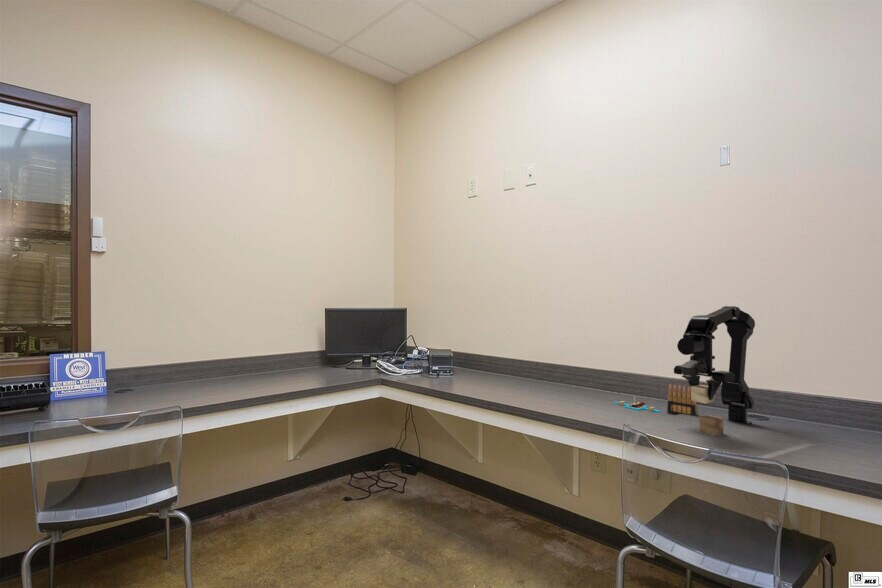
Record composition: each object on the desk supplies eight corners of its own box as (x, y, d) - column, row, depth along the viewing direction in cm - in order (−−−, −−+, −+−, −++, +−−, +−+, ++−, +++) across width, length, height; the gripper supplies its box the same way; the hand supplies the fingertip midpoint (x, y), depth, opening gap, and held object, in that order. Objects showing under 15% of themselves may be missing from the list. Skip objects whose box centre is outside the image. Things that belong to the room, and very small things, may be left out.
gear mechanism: (622, 402, 202) (609, 405, 196) (622, 390, 202) (609, 393, 196) (666, 411, 186) (654, 415, 180) (666, 398, 186) (654, 401, 180)
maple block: (700, 398, 159) (700, 384, 159) (714, 402, 154) (714, 387, 154) (691, 400, 157) (691, 386, 157) (704, 403, 152) (704, 388, 152)
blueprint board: (704, 426, 164) (703, 423, 164) (750, 438, 149) (750, 435, 149) (674, 432, 157) (674, 429, 157) (719, 446, 142) (719, 443, 142)
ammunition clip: (697, 417, 174) (697, 386, 174) (695, 418, 173) (695, 387, 173) (669, 412, 183) (668, 382, 183) (667, 413, 181) (666, 383, 181)
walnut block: (708, 429, 156) (708, 414, 156) (723, 433, 152) (723, 418, 152) (699, 431, 154) (699, 416, 154) (713, 435, 150) (713, 420, 150)
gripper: (662, 351, 161) (663, 395, 161) (713, 357, 144) (713, 406, 144) (684, 349, 165) (684, 391, 165) (735, 355, 148) (736, 403, 148)
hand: (703, 398), depth 156 cm, fingers closed on maple block, 5 cm apart
